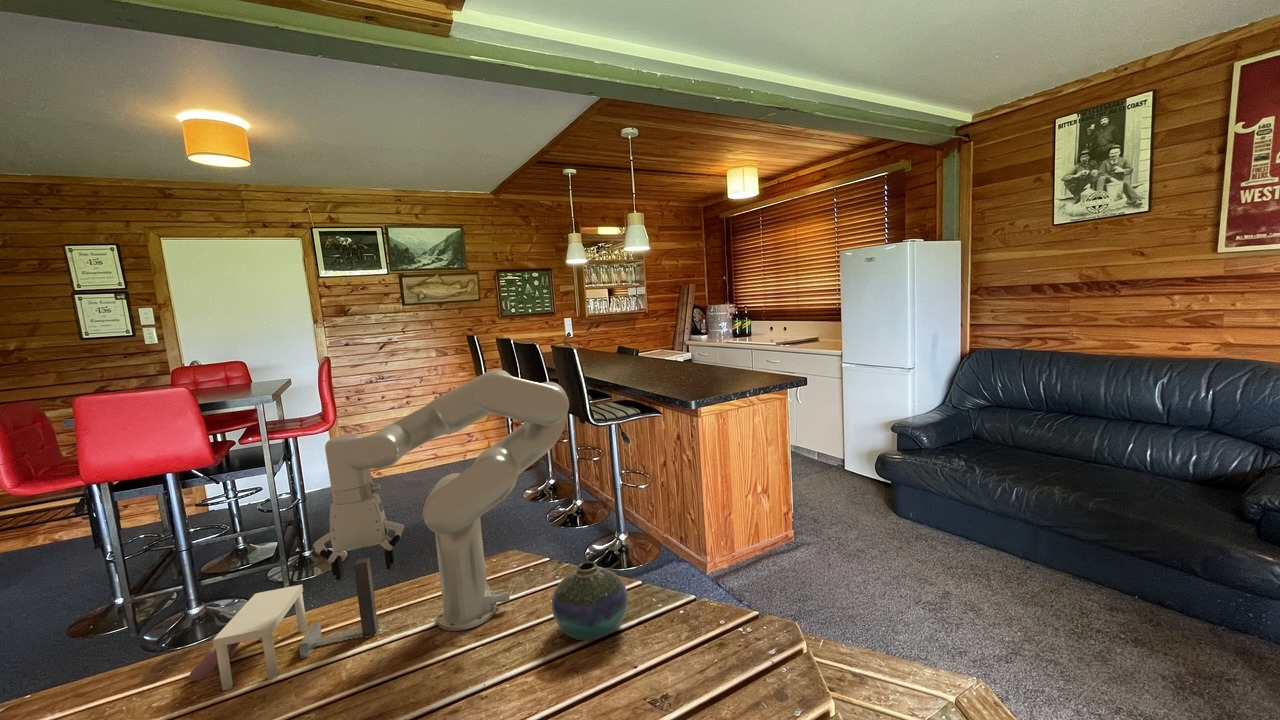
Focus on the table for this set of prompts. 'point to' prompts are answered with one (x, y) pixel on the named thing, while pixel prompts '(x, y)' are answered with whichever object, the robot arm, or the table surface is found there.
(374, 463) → the robot arm
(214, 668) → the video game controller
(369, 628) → the scraper
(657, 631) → the table surface
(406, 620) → the table surface
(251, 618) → the low stool
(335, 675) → the table surface
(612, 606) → the vase
